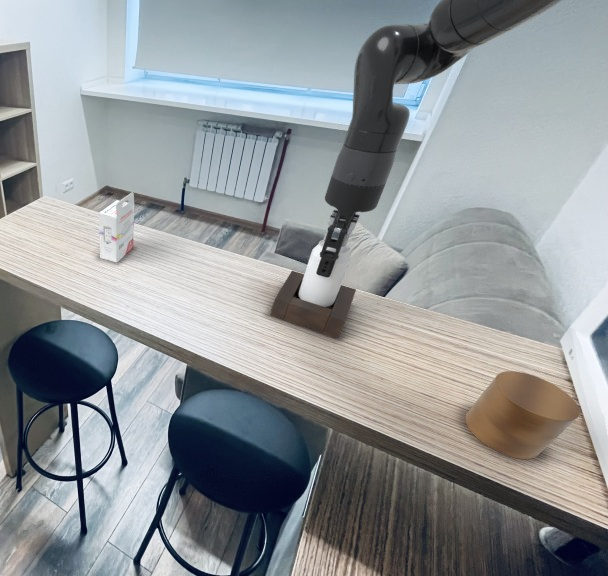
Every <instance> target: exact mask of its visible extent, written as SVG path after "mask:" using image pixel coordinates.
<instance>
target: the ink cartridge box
mask: <svg viewBox="0 0 608 576" xmlns="http://www.w3.org/2000/svg"><path fill="white" fill-rule="evenodd" d="M134 230H135V193H134V191H131V192H130V193H129V194H128V195H125V196H124V197H123V198H121V199H120V200H118V199H116V200H115V201H113V202H112V203H111V204H109V205H108V206H106V207H105V208H103V210H101V211H99V212H98V231H99V258H100V259H102V260H105V261H109V262H112V263H113V262H114V263H119V262H120V261H121V260H122V259H123V258H124V257H125V256H126V255H127V254H128V253H129V252H130V251H131V250H132V249H133V248H134V236H135V235H134V232H135V231H134Z"/></svg>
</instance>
